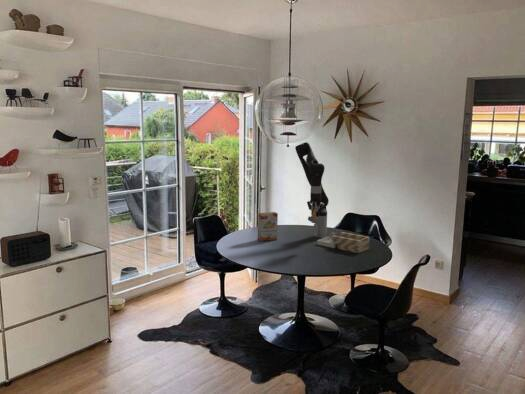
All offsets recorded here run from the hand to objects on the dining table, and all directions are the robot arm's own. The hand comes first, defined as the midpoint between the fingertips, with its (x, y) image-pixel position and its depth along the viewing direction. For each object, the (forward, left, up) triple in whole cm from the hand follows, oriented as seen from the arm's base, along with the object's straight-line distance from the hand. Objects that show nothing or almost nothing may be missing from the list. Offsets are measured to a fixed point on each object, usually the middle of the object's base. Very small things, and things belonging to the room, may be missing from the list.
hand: (315, 216), depth 317 cm
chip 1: (+6, +17, -17) cm, 24 cm away
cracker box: (-39, -5, -23) cm, 46 cm away
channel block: (+19, +17, -23) cm, 35 cm away
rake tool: (0, -3, -4) cm, 5 cm away
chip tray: (+4, +17, -23) cm, 29 cm away
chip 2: (+5, +17, -21) cm, 27 cm away
